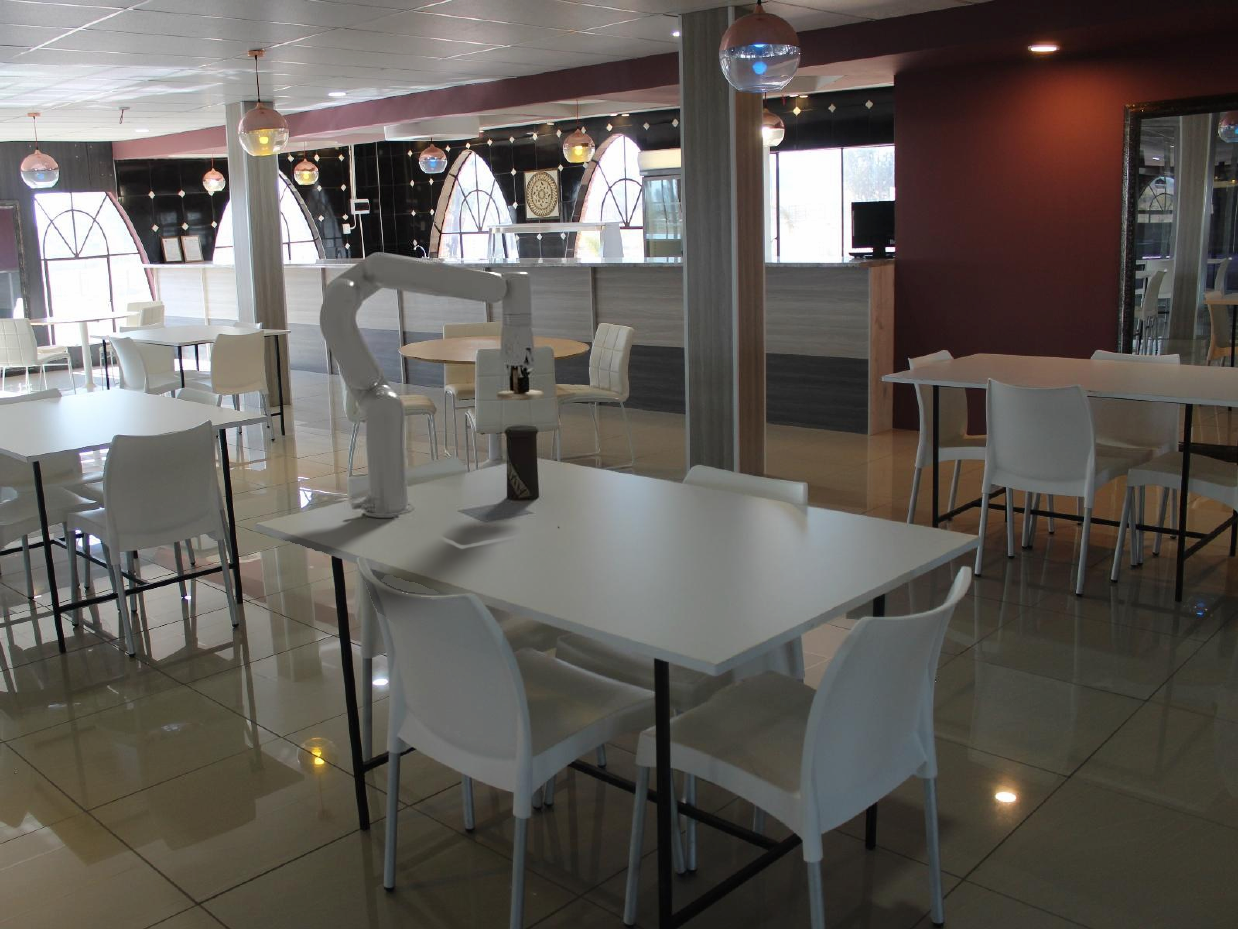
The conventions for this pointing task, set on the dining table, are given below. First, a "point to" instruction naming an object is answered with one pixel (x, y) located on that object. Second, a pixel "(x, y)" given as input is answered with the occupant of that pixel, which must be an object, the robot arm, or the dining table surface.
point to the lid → (519, 396)
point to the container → (522, 463)
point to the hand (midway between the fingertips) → (519, 390)
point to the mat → (495, 512)
